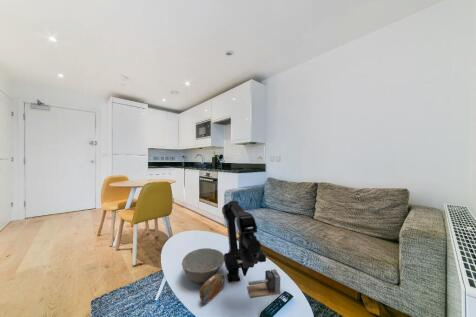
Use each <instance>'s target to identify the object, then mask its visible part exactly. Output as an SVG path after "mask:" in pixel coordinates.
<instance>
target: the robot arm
mask: <svg viewBox="0 0 476 317" xmlns="http://www.w3.org/2000/svg"><path fill="white" fill-rule="evenodd" d="M221 212H222V214H223V218H224V219H225V221H226V225H227V238H228V246H229V247H228V252H226V253H223V255H224V266H225V268H226V271H227V273H226V277H227V281H228V283H234V282H235V283H236V282H241V277H240V269H241V271H242V274H243V277H246V276H247V274H248V271H249V269H250V268H251V269H252V268H255V265H258V263H265V262H267V255H266V253H265V252H264V251H263V250H262V249H261V247H262V244H261V242H260V241H259V239H258V238H257V236H256V235H255V234H256V233H258V226H257V223H256V219H255V217H254V216H253V214H252V213H250V212H248V211H245V210H244V209H243V207H242V205H241V204H239V201H238V200H230V201H228V202H227V203H226V204H224V205H223V206H222V209H221ZM236 226H237V229H236ZM237 230H238V238H237Z"/></svg>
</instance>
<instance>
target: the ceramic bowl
mask: <svg viewBox="0 0 476 317" xmlns="http://www.w3.org/2000/svg"><path fill="white" fill-rule="evenodd" d="M224 264H225V262H224V253H223V252H221V251H220V250H218V249H215V248H209V247H208V248H206V247H205V248H198V249H195V250H192V251H190V252H188V253H187V254H186V255H185V256H184V257H183V258H182V260H181V267H182V269H183V271H184V273H185V274H186V275H187V277H188V278H189V279H190V280H191V281H193V282H195V283H197V284H202V283H205V282H206V281H207V280H209V279H210V278H211V277H212V276H213V275H215V274H216V273H219V271H220V269H221V268H222V266H223V265H224Z"/></svg>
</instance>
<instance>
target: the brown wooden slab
mask: <svg viewBox="0 0 476 317" xmlns="http://www.w3.org/2000/svg"><path fill="white" fill-rule="evenodd" d="M225 280H226V278H225V275H224V274H223V273H219V272H218V273H216V274H215V275H213V276H212V277H211V278H210V279H209V280H207V281H205V282H203V284H202V286H201V288H200V289H199V299H200V302H203V303H204V304H209V303H210V302H211V301H212V300H213V299H214V298H215V297H217V295H218V294H220V292H221V291H222V290H223V289H224V286H225Z"/></svg>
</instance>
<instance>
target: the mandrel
mask: <svg viewBox="0 0 476 317" xmlns="http://www.w3.org/2000/svg"><path fill="white" fill-rule="evenodd" d="M270 271H271V273H272V275H273V276H274V278H275V291H274V292H270V291H269V289H268V287H267V285H266V283H269V280H268V279H266V280H265V279H260V280H251V281H248V285H247V286H246V289H247V291H248V295H249V298H250V299H252V298H253V299H254V298H261V297H268V296H274V295H280V294H281V275H280V274H279V273H278V271H277V269H270Z"/></svg>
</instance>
